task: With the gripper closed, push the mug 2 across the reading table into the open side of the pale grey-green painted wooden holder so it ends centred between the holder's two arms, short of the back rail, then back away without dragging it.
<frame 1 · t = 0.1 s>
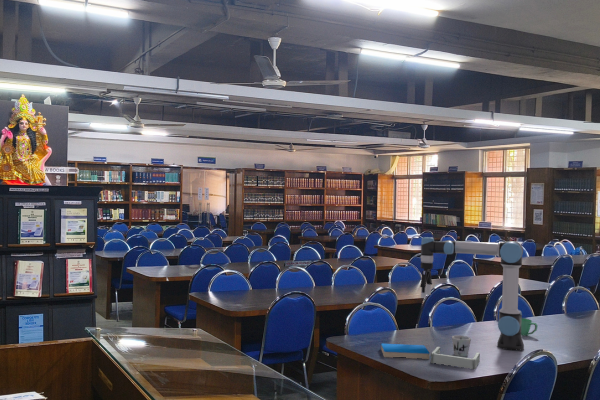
hand: (425, 296, 344), 28 cm above the table, fingers open, 13 cm apart
mug: (526, 335, 368), on the table
cradle: (455, 361, 300), on the table
mug 2: (461, 354, 317), on the table
book: (404, 355, 313), on the table
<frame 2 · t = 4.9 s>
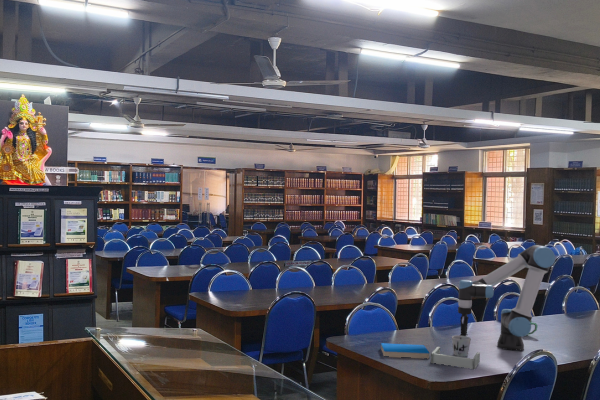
hand: (463, 346, 325), 2 cm above the table, fingers closed
mug 2: (461, 354, 317), on the table, touching gripper
everything else where it was.
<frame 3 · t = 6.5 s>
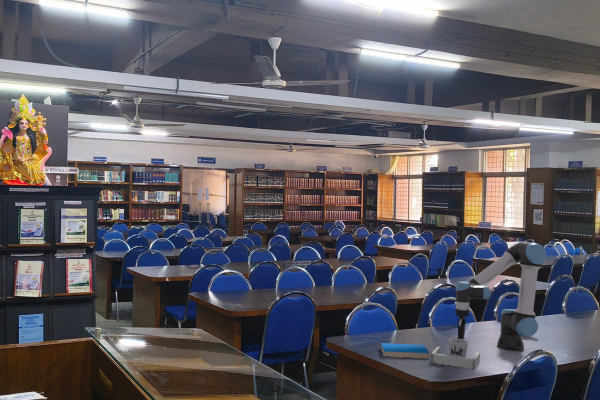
hand: (460, 349, 317), 2 cm above the table, fingers closed
mug 2: (458, 358, 309), on the table, touching gripper
everything else where it was.
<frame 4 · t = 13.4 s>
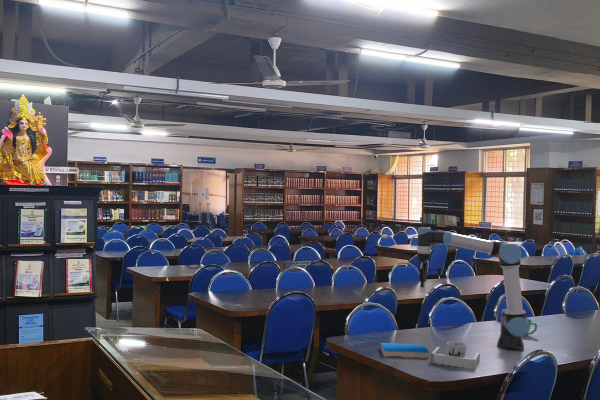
hand: (422, 292, 331), 32 cm above the table, fingers closed
mug 2: (456, 361, 302), on the table
at the end: mug 2 inside the target area on the cradle (2.6 cm from its centre), point 0.0 cm above the cradle's base; mug 2 tilted 0°; mug 2 moved 16.1 cm from its start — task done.
